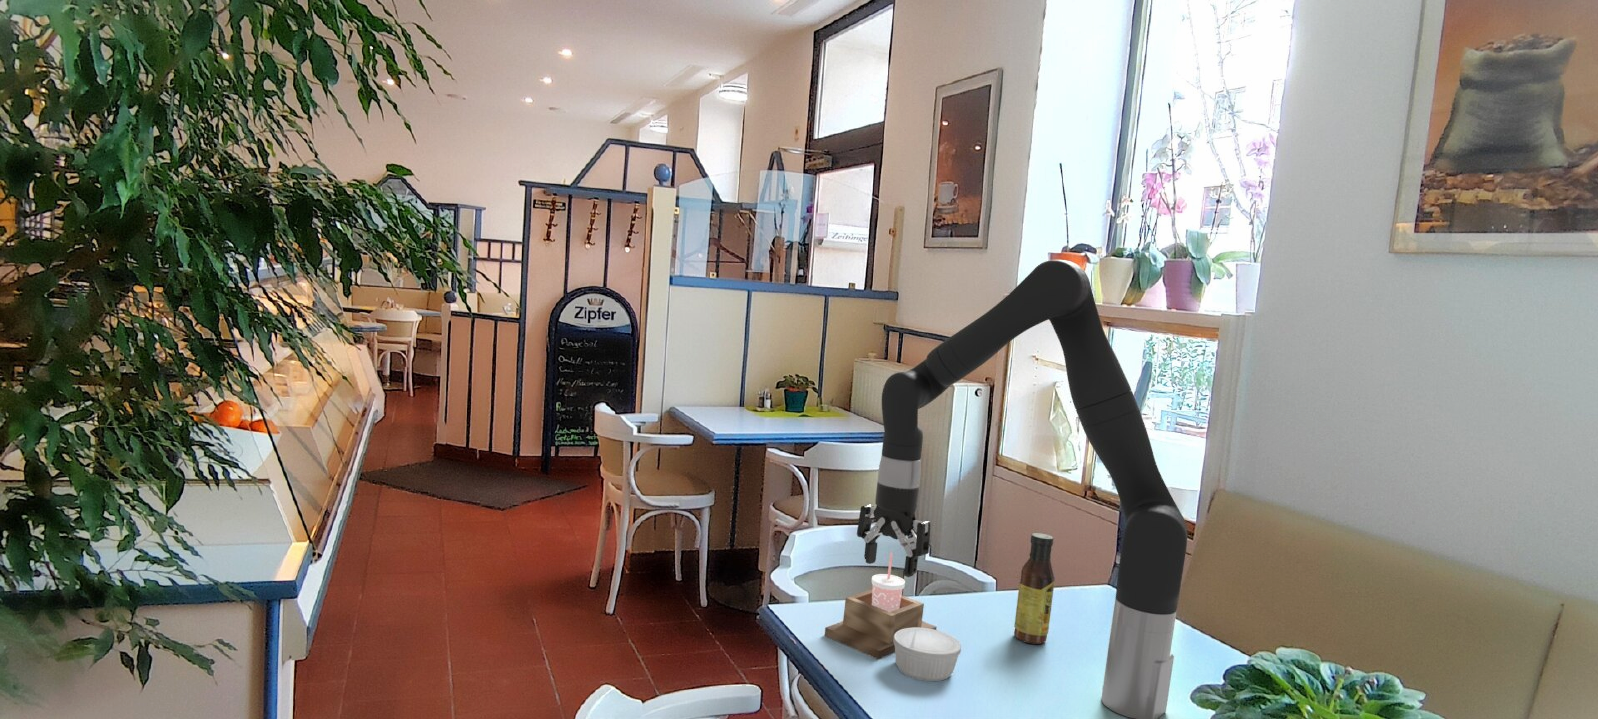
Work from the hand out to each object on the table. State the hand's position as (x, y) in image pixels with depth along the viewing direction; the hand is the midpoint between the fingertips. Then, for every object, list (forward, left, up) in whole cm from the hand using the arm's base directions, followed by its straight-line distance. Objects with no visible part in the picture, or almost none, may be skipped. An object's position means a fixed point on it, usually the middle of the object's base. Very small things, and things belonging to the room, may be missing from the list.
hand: (889, 569), depth 165 cm
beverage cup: (0, 0, -11) cm, 11 cm away
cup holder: (0, 0, -12) cm, 12 cm away
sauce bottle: (-18, -23, -13) cm, 32 cm away
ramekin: (-13, +6, -13) cm, 19 cm away
